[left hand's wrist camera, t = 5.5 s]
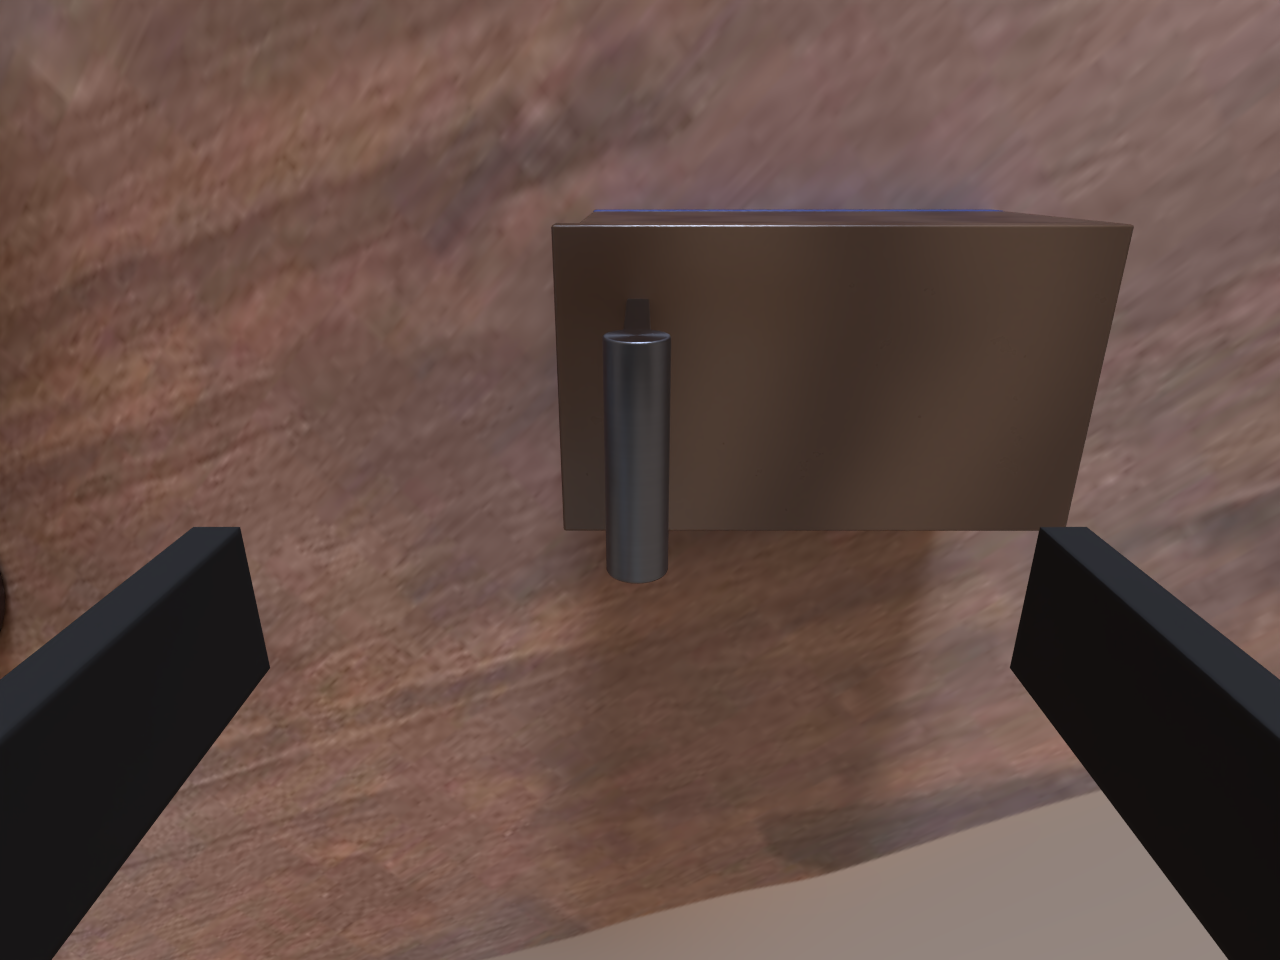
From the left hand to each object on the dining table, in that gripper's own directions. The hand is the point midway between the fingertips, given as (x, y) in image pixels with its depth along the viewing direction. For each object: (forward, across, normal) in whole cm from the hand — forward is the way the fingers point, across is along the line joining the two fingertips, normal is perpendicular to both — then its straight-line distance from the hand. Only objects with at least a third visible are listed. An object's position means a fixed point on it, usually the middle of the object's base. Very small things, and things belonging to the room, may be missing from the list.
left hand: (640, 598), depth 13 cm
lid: (+14, -6, 0) cm, 16 cm away
